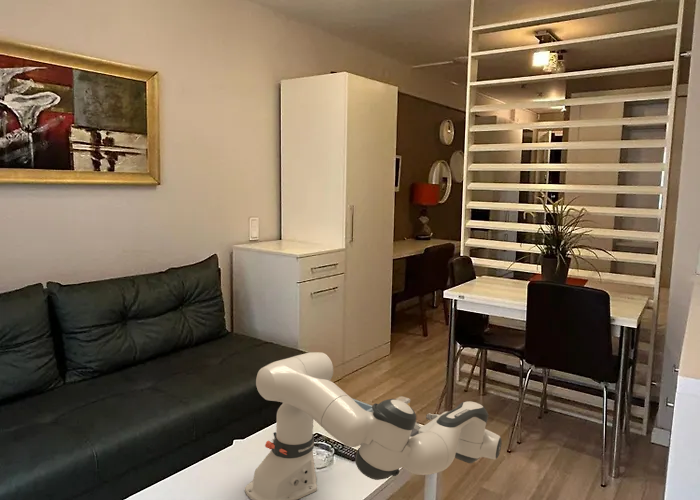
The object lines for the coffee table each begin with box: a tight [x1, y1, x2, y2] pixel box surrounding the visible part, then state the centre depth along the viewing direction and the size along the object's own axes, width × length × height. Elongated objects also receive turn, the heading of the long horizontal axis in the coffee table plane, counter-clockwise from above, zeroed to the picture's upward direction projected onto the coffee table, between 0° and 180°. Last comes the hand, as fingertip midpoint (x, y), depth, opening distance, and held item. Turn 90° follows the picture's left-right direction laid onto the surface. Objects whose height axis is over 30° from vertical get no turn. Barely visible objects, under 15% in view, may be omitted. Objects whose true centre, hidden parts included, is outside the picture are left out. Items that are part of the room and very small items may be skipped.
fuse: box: [395, 395, 411, 407], centre depth 191 cm, size 4×4×13 cm
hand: (420, 420), depth 186 cm, fingers open, 8 cm apart
